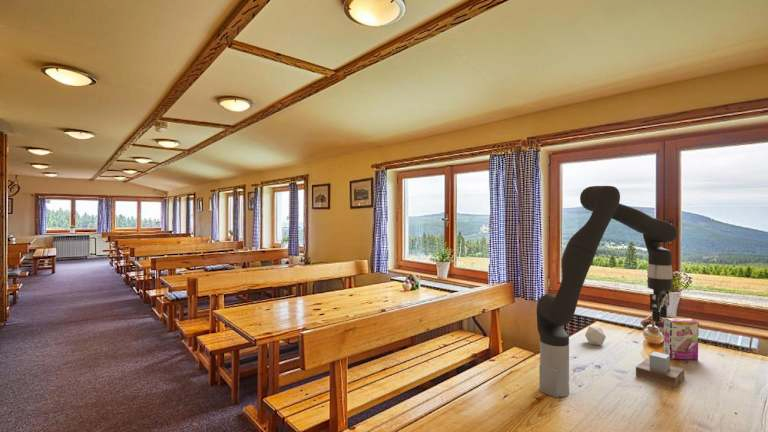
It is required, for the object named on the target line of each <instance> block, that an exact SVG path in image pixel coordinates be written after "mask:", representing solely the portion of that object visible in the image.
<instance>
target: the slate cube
mask: <svg viewBox="0 0 768 432" xmlns="http://www.w3.org/2000/svg"><path fill="white" fill-rule="evenodd" d="M649 360H650V368H652V369H656V370H659V371H663V372H667V371H668V370H669V369H670V365H671V359H670V355H667V354H663V352H657V351H653V352H651V353H650V354H649Z"/></svg>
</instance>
